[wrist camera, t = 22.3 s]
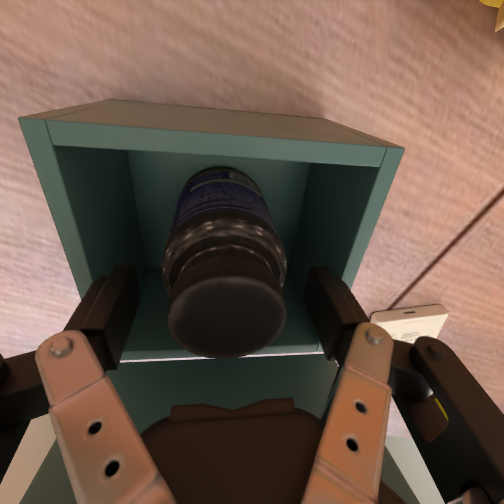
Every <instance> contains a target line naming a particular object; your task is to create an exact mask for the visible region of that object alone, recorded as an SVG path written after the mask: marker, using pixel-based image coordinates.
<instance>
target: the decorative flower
mask: <svg viewBox="0 0 504 504" xmlns="http://www.w3.org/2000/svg"><path fill="white" fill-rule="evenodd" d="M479 1H480V2H481V3H483V4H484V5H487V6H492V7H498V8H499V10H498V15H497V20H496V26H495V32H497V31H498V30H499V29H501V28H503V27H504V0H479Z"/></svg>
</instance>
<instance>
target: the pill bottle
mask: <svg viewBox="0 0 504 504" xmlns="http://www.w3.org/2000/svg"><path fill="white" fill-rule="evenodd" d="M286 272H287V259H286V255H285V251H284V247H283V245H282V243H281V241H280V238H279V236H278V233H277V230H276V227H275V225H274V223H273V220H272V217H271V215H270V213H269V210H268V207H267V204H266V203H265V200H264V198H263V196H262V193H261V191H260V189H259V187H258V186H257V184H256V183H255V182H254V181H253V180H252V179H251V178H250V177H249V176H248V175H246V174H244V173H242V172H240V171H238V170H236V169H233V168H230V167H212V168H208V169H205V170H202V171H200V172H198V173H196V174H195V175H194V176H192V177H191V178H190V179H189V180H188V181H187V182H186V184H185V186H184V188H183V190H182V192H181V194H180V196H179V199H178V203H177V207H176V210H175V214H174V217H173V221H172V224H171V228H170V232H169V235H168V239H167V242H166V246H165V249H164V253H163V257H162V261H161V275H162V280H163V283H164V286H165V288H166V290H167V292H168V293H169V295H170V299H169V307H168V312H167V326H168V329H169V332H170V334H171V336H172V338H173V339H174V340H175V341H176V343H177V344H179V345H180V346H181V347H183V348H184V349H186V350H187V351H189V352H191V353H193V354H196V355H199V356H203V357H206V358H217V359H231V358H237V357H242V356H246V355H249V354H252V353H254V352H257V351H259V350H261V349H263V348H264V347H266V346H267V345H269V344H270V343H271V342H273V341H274V340H275V339H276V338H277V337H278V335H279V334H280V333H281V331H282V329H283V328H284V325H285V322H286V318H287V308H286V303H285V299H284V297H283V292H282V289H281V288H282V286H283V284H284V281H285V278H286Z"/></svg>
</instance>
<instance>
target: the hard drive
mask: <svg viewBox="0 0 504 504" xmlns="http://www.w3.org/2000/svg"><path fill="white" fill-rule="evenodd" d="M448 314H449V311H448V310H447V309H446V308H444V306H443V305H429V306H420V307H412V308H404V309H396V310H388V311H381V312H375V313H373V314H372V316H371V320H370V322H371V323H373V324H376V325H378V326H380V327H382V328H383V329H385V330H386V331H387V332H388V333H389V334H390V335H391V337H392V339H396V340H400V341H404V342H408V343H412V344H413V343H414V342H415V340H416V339H417V338H418V337H420V336H429V337H433V338H435V339H436V337H437V335H438V333H439V331H440V329H441V327H442V325H443V323H444V321H445V320H446V318H447V316H448Z"/></svg>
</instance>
